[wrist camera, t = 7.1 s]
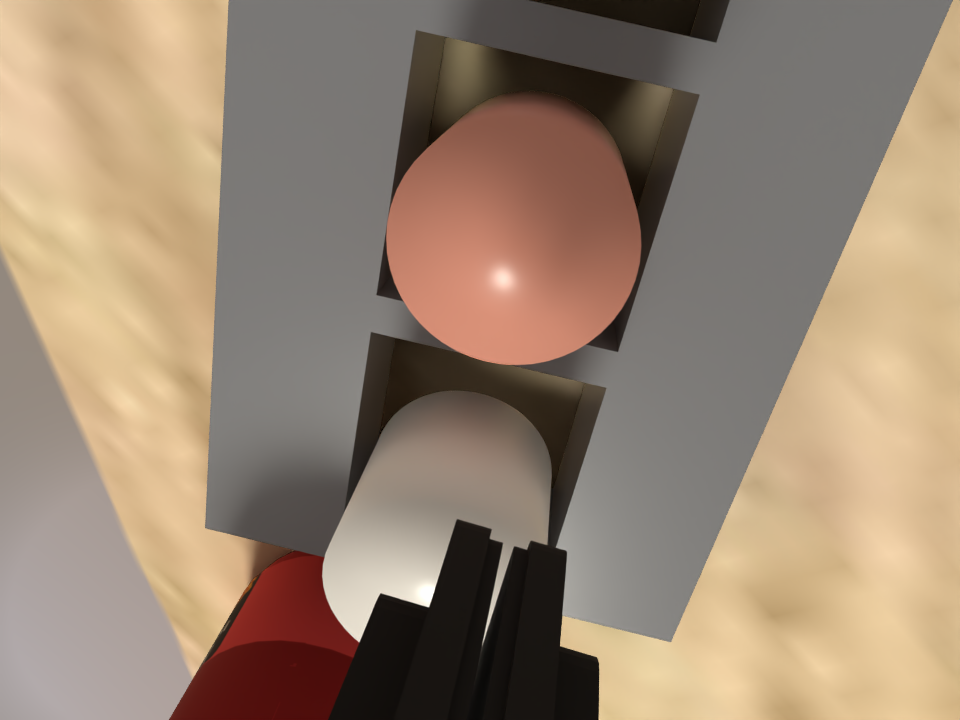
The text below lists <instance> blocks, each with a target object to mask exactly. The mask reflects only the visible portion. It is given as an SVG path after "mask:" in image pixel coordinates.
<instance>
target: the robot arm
mask: <svg viewBox="0 0 960 720" xmlns="http://www.w3.org/2000/svg"><path fill="white" fill-rule="evenodd" d="M491 531H492V529H490V528H487V527H483V526H480V525H476V524H473V523H469V522H466V521H463V520H459V519H457V520H456V523H455V526H454V529H453V532H452V535H451V539H450V542H449V545H448V548H447V551H446V555H445V558H444V561H443V564H442V567H441V571H440V574H439V577H438V580H437V583H436V587H435V590H434V593H433V596H432V599H431V603H430V606H429V607H426V606H422V605H419V604H416V603H412V602H409V601H406V600H402V599H399V598H395V597H392V596H389V595H385V594H382V593H380V595H379V597H378V599H377V601H376V603H375V605H374V608H373V610H372V613H371V615H370V618H369V620H368V623H367V625H366V627H365V630H364V632H363V635H362V637H361V640H360V642H359V645H358V647H357V650H356V652H355V654H354V657H353V659H352V662H351V664H350V667H349V669H348V672H347V674H346V676H345V679H344V681H343V684H342V686H341V689H340V691H339V694H338V696H337V699H336V701H335V703H334V706H333V708H332V711H331V713H330V716H329V718H328V720H598V715H599V662H598V659H597V657H594V656H591V655H587V654H584V653H580V652H577V651H574V650H570V649H567V648H564V647H560V637H561V625H562V612H563V600H564V588H565V576H566V563H567V551H566V550H562V549H559V548H555V547H552V546H549V545H545V544H542V543H538V542H535V541H530V543H529V545H528V548H527V550H526V549H523V548H519V547H516V546H514V548H513V551H512V554H511V557H510V560H509V563H508V566H507V569H506V572H505V576H504V579H503V582H502V585H501V588H500V591H499V595H498V598H497V601H496V604H495V607H494V610H493V614H492V617H491V620H490V623H489V626H488V629H487V632H486V636H485V639H484V634H485V629H486V624H487V619H488V615H489V610H490V605H491V600H492V595H493V590H494V586H495V581H496V576H497V571H498V566H499V562H500V557H501V552H502V547H503V543H502V542H499V541H495V540H492V539H490V535H491ZM483 639H484V642H483ZM482 644H483V645H482Z"/></svg>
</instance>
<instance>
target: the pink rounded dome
mask: <svg viewBox="0 0 960 720" xmlns="http://www.w3.org/2000/svg"><path fill="white" fill-rule="evenodd" d="M386 242H387V255H388V261H389V266H390V270H391V273H392V277H393V280H394V283H395V285H396V287H397V289H398V292H399V294H400V296H401V298H402V299H403V301H404V303H405V304H406V306H407V307H408V309H409V311H410V312H411V313H412V314H413V316H414V317H415V318H416V319H417V320H418V322H419V323H420V324H421V325H422V326H423V327H424V328H425V329H426V330H427V331H428V332H429V333H431V334H432V335H433V336H434V337H436V338H437V339H438V340H440V341H441V342H442V343H444V344H446V345H447V346H449V347H451V348H452V349H454V350H456V351H458V352H460V353H463V354H465V355H467V356H470V357H472V358H476V359H479V360H482V361H486V362H491V363H497V364H507V365H525V364H535V363H540V362H546V361H550V360H553V359H556V358H559V357H562V356H564V355H567V354H569V353H571V352H573V351H576V350H577V349H579V348H581V347H582V346H584V345H586V344H587V343H589V342H590V341H591V340H593V339H594V338H595V337H596V336H598V335H599V334H600V333H601V332H603V330H604V329H605V328H606V327H607V326H608V325H609V324H610V323H611V322H612V321H613V320H614V319H615V317H616V316H617V315H618V313H619V312H620V310H621V309H622V308H623V306H624V304H625V302H626V300H627V299H628V297H629V295H630V293H631V290H632V288H633V285H634V283H635V280H636V276H637V272H638V268H639V264H640V255H641V229H640V223H639V218H638V213H637V209H636V205H635V202H634V198H633V195H632V191H631V188H630V184H629V181H628V177H627V174H626V170H625V167H624V163H623V160H622V157H621V154H620V151H619V149H618V147H617V145H616V143H615V141H614V139H613V138H612V136H611V135H610V133H609V132H608V130H607V129H606V127H605V126H604V125H603V124H602V123H601V122H600V121H599V120H598V118H596V117H595V116H594V115H593V114H592V113H591V112H589V111H588V110H587V109H585V108H584V107H582V106H581V105H579V104H578V103H576V102H574V101H572V100H570V99H567V98H565V97H563V96H559V95H556V94H553V93H548V92H542V91H516V92H509V93H505V94H502V95H498V96H495V97H493V98H490V99H488V100H486V101H484V102H482V103H480V104H479V105H477V106H475V107H474V108H472V109H471V110H470V111H468V112H467V113H466V114H465V115H463V116H462V117H461V118H460V119H459V120H458V121H457V122H456V123H455V124H453V125H452V126H451V127H450V128H449V129H448V130H447V131H446V132H445V133H443V134H442V135H441V136H440V137H439V138H438V139H437V140H436V141H435V142H434V143H432V144H431V145H430V146H429V147H428V148H427V149H426V150H425V151H424V152H423V153H422V154H421V155H420V156H419V157H418V158H417V159H416V160H415V161H414V163H413V164H412V165H411V167H410V168H409V170H408V171H407V172H406V174H405V175H404V177H403V179H402V181H401V183H400V184H399V186H398V188H397V190H396V193H395V196H394V198H393V201H392V204H391V207H390V212H389V217H388V221H387V234H386Z"/></svg>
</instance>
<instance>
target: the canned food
mask: <svg viewBox="0 0 960 720" xmlns="http://www.w3.org/2000/svg"><path fill="white" fill-rule="evenodd" d="M324 558H325V557H321V556H317V555H313V554H309V553H305V552H301V551H293V552H291V553H289V554H287V555H285V556H283V557H281V558H279V559H277V560H276V561H275V562H274V563H272V564H271V565H270V566H269V567H267V568H266V569H265V570H264V571H263V572H261V573H260V574H259V575H258V576H256V577H255V578H254V579H253V580H252V581H251V583H250V584H249V586H248V587H247V588H246V590H245V591H244V592H243V594H242V596H241V598H240V599H239V601H238V603H237V604H236V606H235V608H234V610H233V611H232V613H231V615H230V616H229V618H228V620H227V622H226V623H225V625H224V627H223V628H222V630H221V632H220V634H219V635H218V637H217V639H216V640H215V642H214V644H213V645H212V647H211V649H210V651H209V652H208V654H207V656H206V657H205V659H204V661H203V663H202V664H201V666H200V668H199V669H198V671H197V673H196V675H195V676H194V678H193V680H192V681H191V683H190V685H189V687H188V688H187V690H186V692H185V694H184V695H183V697H182V698H181V700H180V702H179V704H178V705H177V707H176V709H175V710H174V712H173V714H172V716H171V717H170V719H169V720H328V718H329V716H330V713H331V711H332V708H333V706H334V703H335V701H336V699H337V696H338V694H339V691H340V689H341V686H342V684H343V681H344V679H345V676H346V674H347V672H348V669H349V667H350V664H351V662H352V659H353V657H354V654H355V652H356V650H357V647H358V645H359V642H358V641H357V640H356V639H354V638H353V637H352V636H351V635H350V634H349V633H348V632H347V631H346V630H345V628H344V627H343V626H342V625H341V623H340V622H339V621H338V619H337V618H336V616H335V614H334V613H333V611H332V610H331V607H330V605H329V603H328V600H327V598H326V594H325V591H324V587H323V578H322V572H323V562H324Z"/></svg>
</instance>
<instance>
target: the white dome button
mask: <svg viewBox="0 0 960 720" xmlns="http://www.w3.org/2000/svg"><path fill="white" fill-rule="evenodd" d="M551 477H552V468H551V460H550V456H549V452H548V449H547V447H546V444H545V442H544V440H543V438H542V437H541V435H540V433H539V432H538V430H537V429H536V428H535V427H534V425H533V424H532V423H531V422H530V421H529V420H528V419H527V418H526V417H525V416H524V415H523V414H521V413H520V412H519V411H517V410H516V409H515V408H513V407H512V406H510V405H508V404H506V403H505V402H503V401H500V400H498V399H496V398H493V397H491V396H487V395H484V394H481V393H475V392H470V391H443V392H437V393H432V394H429V395H426V396H422V397H420V398H418V399H416V400H414V401H412V402H410V403H408V404H407V405H405V406H404V407H402V408H401V409H400V410H399V411H398V412H397V413H395V414H394V416H393V417H392V418H391V419H390V420H389V421H388V423H387V424H386V426H385V428H384V429H383V431H382V433H381V435H380V437H379V440H378V442H377V444H376V446H375V448H374V450H373V452H372V455H371V457H370V459H369V461H368V463H367V465H366V467H365V469H364V472H363V474H362V476H361V478H360V480H359V482H358V484H357V487H356V489H355V491H354V493H353V495H352V497H351V499H350V501H349V504H348V506H347V508H346V510H345V512H344V514H343V516H342V518H341V521H340V523H339V525H338V527H337V529H336V531H335V533H334V536H333V538H332V540H331V542H330V544H329V547H328V549H327V551H326V554H325V558H324V562H323V572H322V578H323V587H324V591H325V594H326V598H327V600H328V603H329V605H330V607H331V610H332V611H333V613H334V614H335V616H336V618H337V619H338V621H339V622H340V623H341V625H342V626H343V627H344V628H345V630H346V631H347V632H348V633H349V634H350V635H351V636H352V637H353V638H354V639H356V640H357V641H358V642H360V640H361V637H362V635H363V632H364V630H365V627H366V625H367V623H368V620H369V618H370V615H371V613H372V610H373V608H374V605H375V603H376V601H377V599H378V597H379V595H380V593H382V594H385V595H389V596H392V597H395V598H399V599H402V600H406V601H409V602H412V603H416V604H419V605H422V606H426V607H429V606H430V603H431V599H432V596H433V593H434V590H435V587H436V583H437V580H438V577H439V574H440V571H441V567H442V564H443V561H444V558H445V555H446V551H447V548H448V545H449V542H450V539H451V535H452V532H453V529H454V526H455V523H456V520H457V519H459V520H463V521H466V522H469V523H473V524H476V525H480V526H483V527H487V528H490V529H492V531H491V535H490V539H492V540H495V541H499V542H502V543H503V547H502V552H501V557H500V562H499V566H498V571H497V576H496V581H495V586H494V590H493V595H492V600H491V605H490V610H489V615H488V619H487V624H486V629H485V634H484V639H485V636H486V632H487V629H488V626H489V623H490V620H491V617H492V614H493V610H494V607H495V604H496V601H497V598H498V595H499V591H500V588H501V585H502V582H503V579H504V576H505V572H506V569H507V566H508V563H509V560H510V557H511V554H512V551H513V548H514V546H516V547H519V548H523V549H526V550H527V548H528V545H529V543H530V541H535V542H538V543H542V544H545V545H547V542H548V526H549V510H550V494H551ZM484 639H483V642H484ZM482 645H483V644H482Z"/></svg>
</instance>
